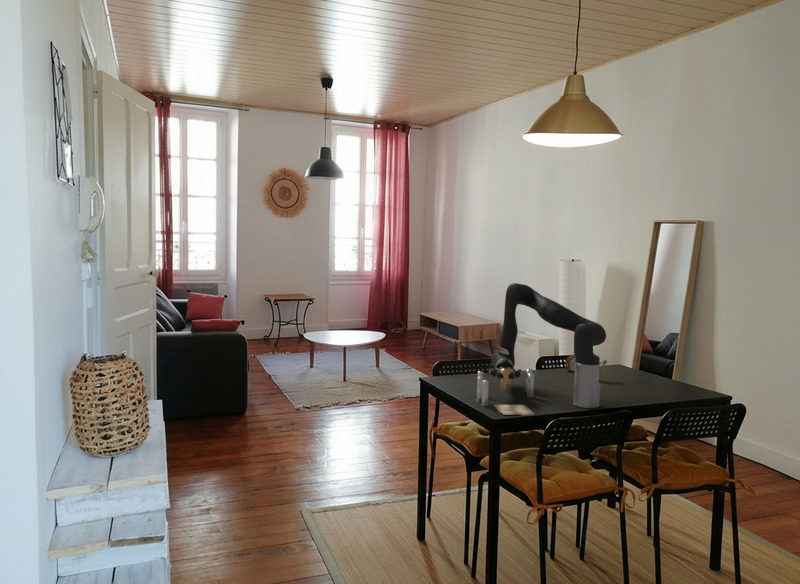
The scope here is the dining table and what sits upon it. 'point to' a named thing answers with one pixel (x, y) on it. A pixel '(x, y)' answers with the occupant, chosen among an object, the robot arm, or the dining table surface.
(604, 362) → the mechanical component
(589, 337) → the robot arm
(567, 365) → the tin
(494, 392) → the dining table surface
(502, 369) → the bronze spacer
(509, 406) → the birch pad
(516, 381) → the dining table surface
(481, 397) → the steel posts
